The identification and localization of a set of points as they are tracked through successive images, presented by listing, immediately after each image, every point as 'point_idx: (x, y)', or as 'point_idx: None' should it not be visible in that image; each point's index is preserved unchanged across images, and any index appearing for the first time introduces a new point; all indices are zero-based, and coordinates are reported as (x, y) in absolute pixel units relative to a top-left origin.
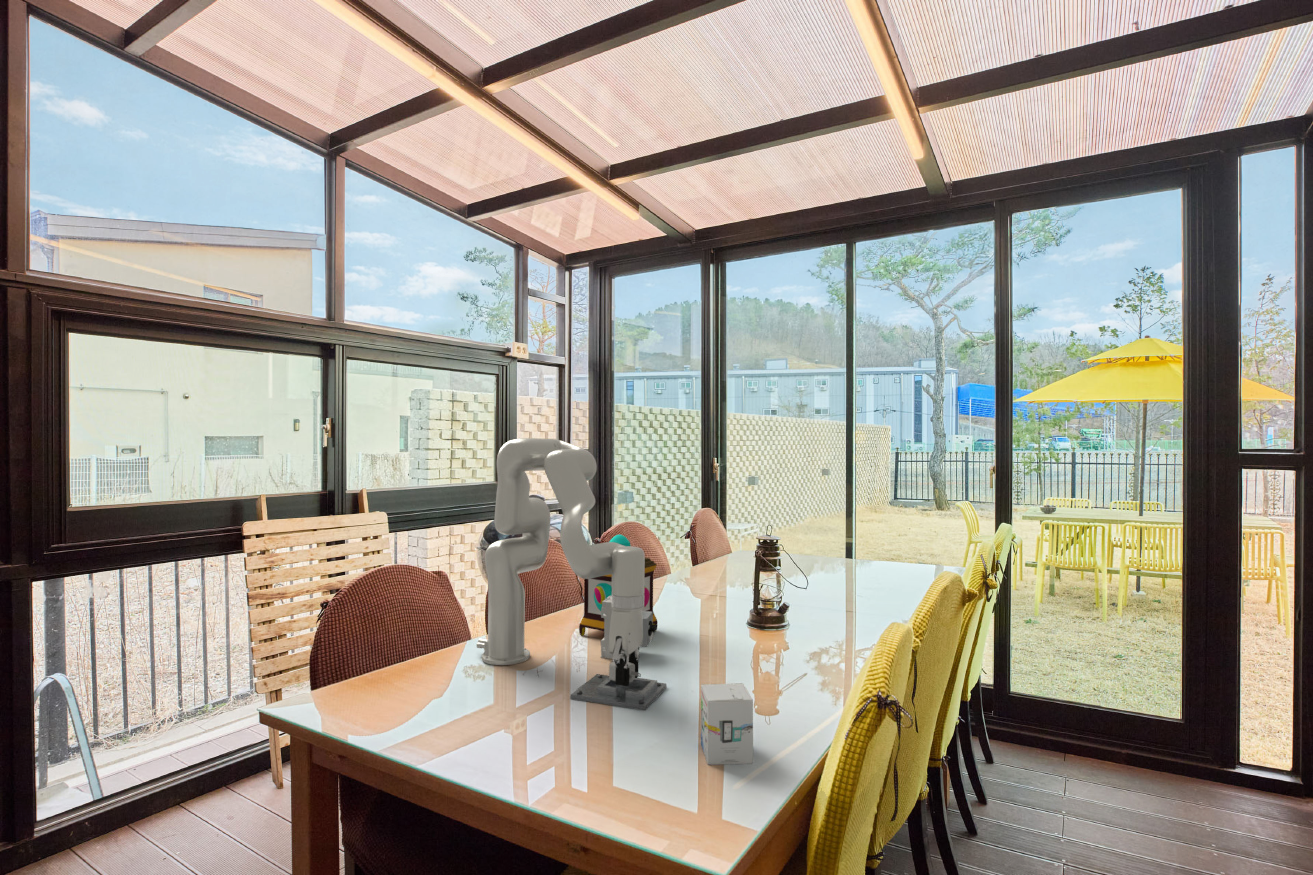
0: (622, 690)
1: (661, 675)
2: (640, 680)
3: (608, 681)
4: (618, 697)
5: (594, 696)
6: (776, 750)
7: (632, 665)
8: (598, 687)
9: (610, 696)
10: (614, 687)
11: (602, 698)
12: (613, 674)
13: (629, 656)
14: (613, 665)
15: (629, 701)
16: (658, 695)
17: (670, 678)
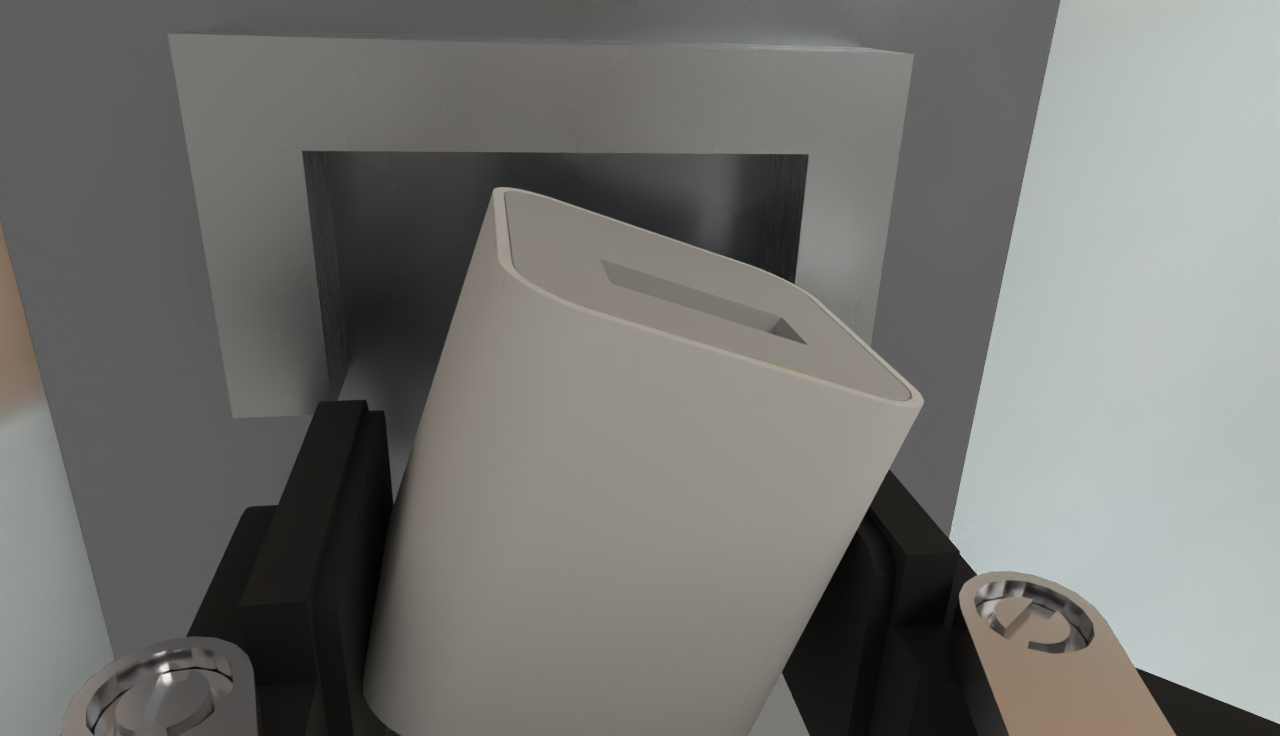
0: None
1: (1246, 511)
2: None
3: (534, 139)
4: (223, 434)
5: (32, 45)
6: None
7: None
8: (181, 60)
9: (198, 308)
10: (301, 365)
11: (38, 223)
12: (457, 336)
13: (944, 699)
14: (470, 415)
15: (172, 615)
16: None
17: (1160, 622)
